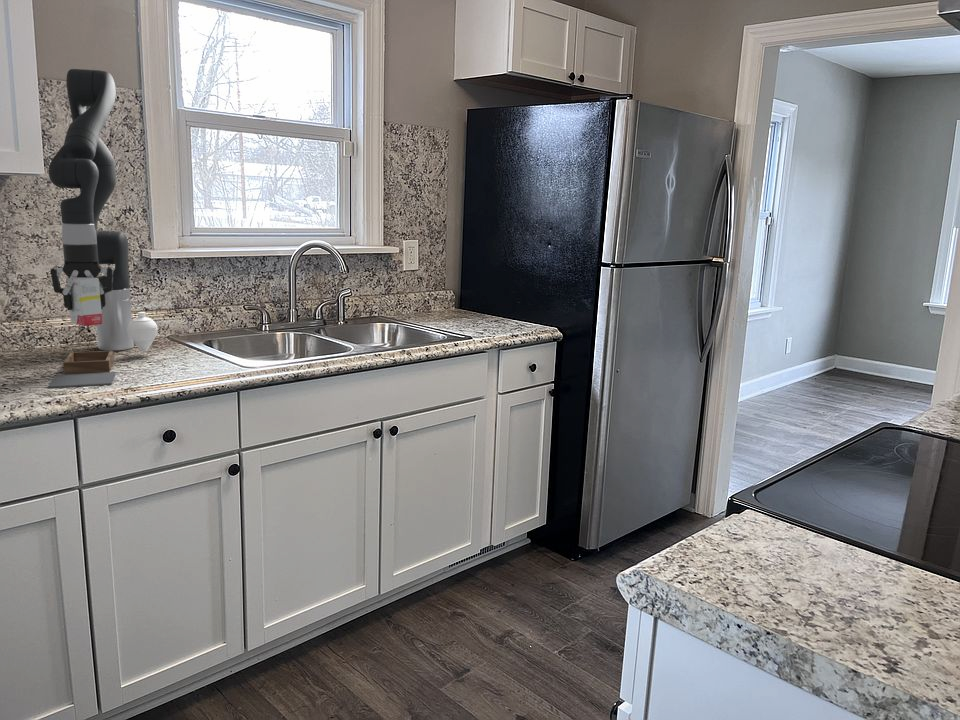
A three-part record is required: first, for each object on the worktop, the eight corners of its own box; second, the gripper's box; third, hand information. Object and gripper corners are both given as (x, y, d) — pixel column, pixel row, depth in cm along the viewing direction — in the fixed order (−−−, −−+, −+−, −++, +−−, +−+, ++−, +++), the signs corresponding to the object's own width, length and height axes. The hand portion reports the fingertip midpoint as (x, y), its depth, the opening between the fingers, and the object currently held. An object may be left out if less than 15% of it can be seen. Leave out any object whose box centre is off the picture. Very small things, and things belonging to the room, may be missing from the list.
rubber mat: (56, 376, 182) (56, 374, 182) (115, 373, 187) (115, 371, 186) (48, 388, 171) (47, 386, 171) (111, 384, 176) (111, 383, 176)
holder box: (71, 363, 196) (70, 352, 195) (114, 361, 199) (113, 350, 199) (64, 374, 184) (63, 362, 183) (109, 372, 187) (108, 360, 187)
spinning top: (142, 351, 213) (139, 309, 211) (165, 353, 211) (162, 311, 209) (122, 356, 206) (119, 313, 203) (146, 358, 204) (143, 315, 201)
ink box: (103, 324, 188) (99, 277, 186) (82, 326, 185) (78, 278, 182) (90, 320, 194) (86, 274, 191) (70, 322, 191) (65, 275, 188)
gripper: (113, 241, 191) (118, 306, 195) (49, 241, 186) (55, 307, 189) (110, 243, 184) (115, 310, 188) (44, 243, 179) (50, 312, 183)
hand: (85, 309), depth 189 cm, fingers closed on ink box, 6 cm apart
